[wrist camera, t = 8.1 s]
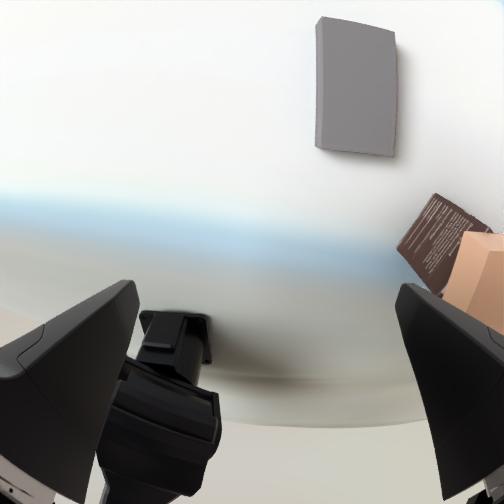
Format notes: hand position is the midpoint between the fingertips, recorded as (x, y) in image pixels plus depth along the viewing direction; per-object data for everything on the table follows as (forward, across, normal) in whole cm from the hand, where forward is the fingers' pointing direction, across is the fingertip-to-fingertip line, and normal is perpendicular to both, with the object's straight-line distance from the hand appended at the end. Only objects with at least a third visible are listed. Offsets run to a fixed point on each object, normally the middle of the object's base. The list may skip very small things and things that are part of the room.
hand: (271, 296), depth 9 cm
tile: (+5, -15, +3) cm, 16 cm away
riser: (+12, -6, -8) cm, 16 cm away
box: (+12, -15, +3) cm, 20 cm away
